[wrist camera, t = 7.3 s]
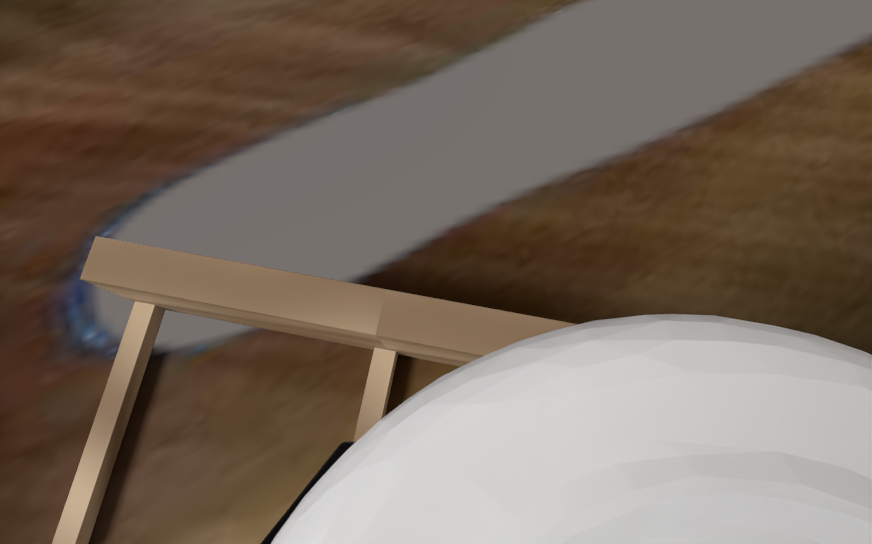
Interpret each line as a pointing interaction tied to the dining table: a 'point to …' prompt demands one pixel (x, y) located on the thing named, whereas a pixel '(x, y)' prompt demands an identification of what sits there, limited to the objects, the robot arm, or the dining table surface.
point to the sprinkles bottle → (617, 444)
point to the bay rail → (274, 310)
